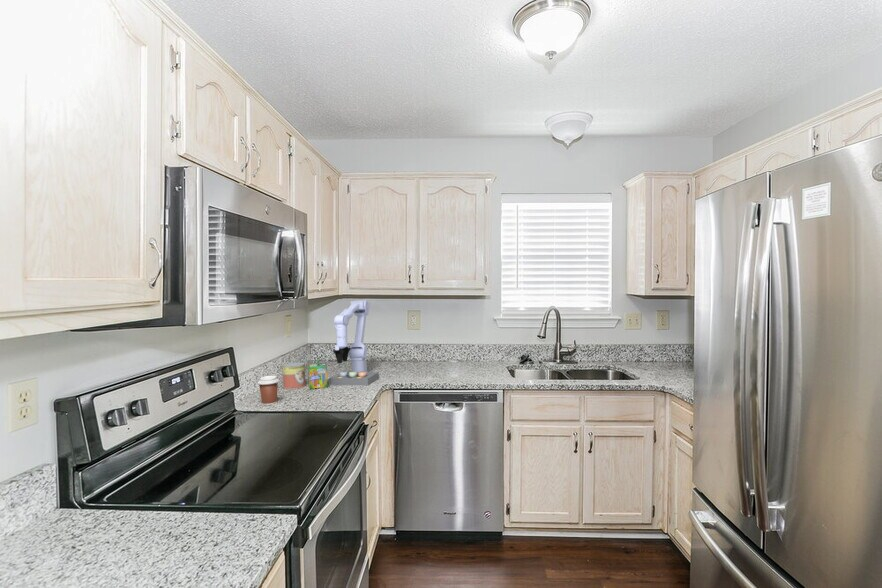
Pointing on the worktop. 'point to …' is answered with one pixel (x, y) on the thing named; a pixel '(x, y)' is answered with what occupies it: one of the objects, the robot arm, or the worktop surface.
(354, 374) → the button sage
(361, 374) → the button terracotta
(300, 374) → the canned food
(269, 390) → the coffee cup
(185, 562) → the worktop surface
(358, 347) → the robot arm
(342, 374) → the button slate
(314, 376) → the chalk box
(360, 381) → the console
